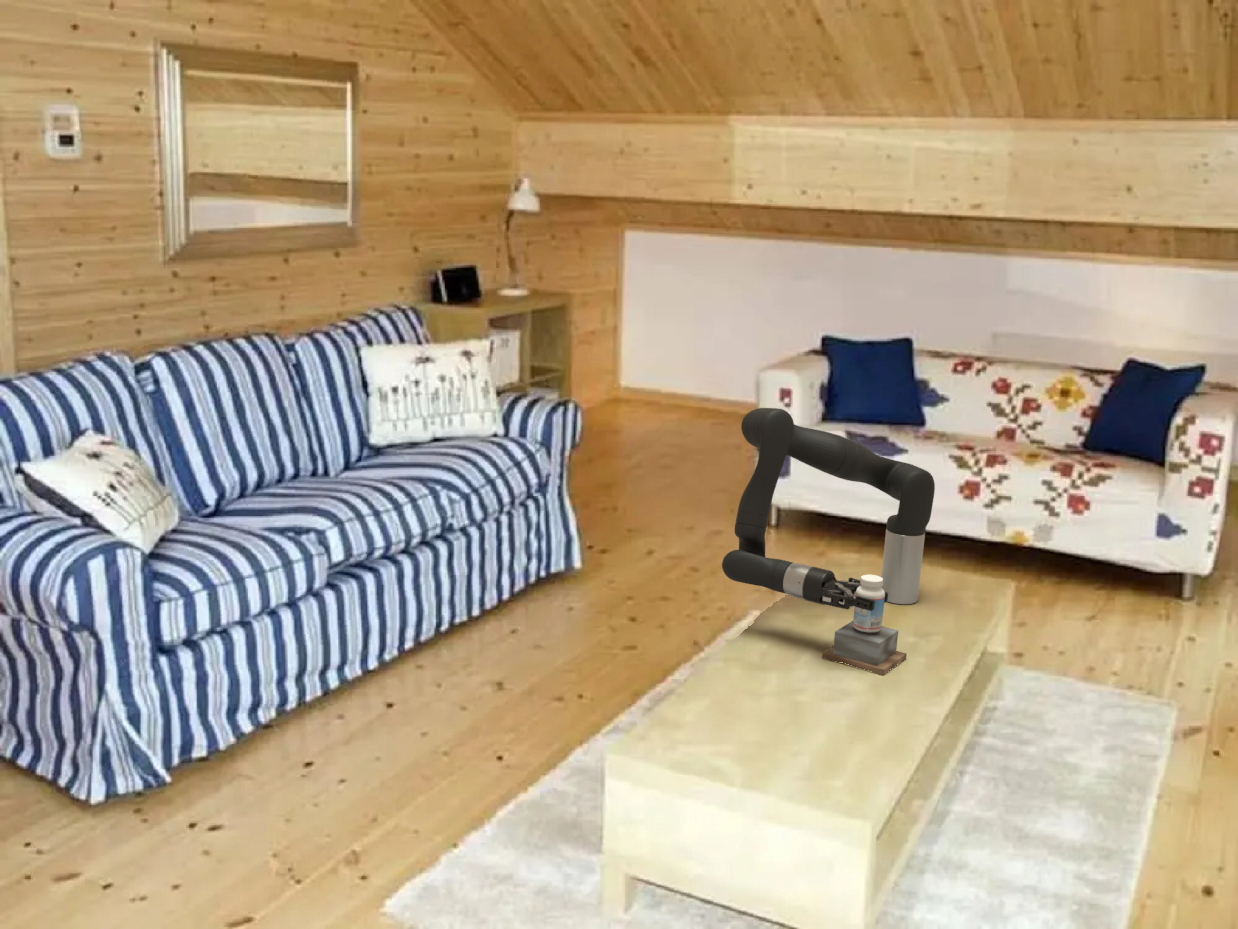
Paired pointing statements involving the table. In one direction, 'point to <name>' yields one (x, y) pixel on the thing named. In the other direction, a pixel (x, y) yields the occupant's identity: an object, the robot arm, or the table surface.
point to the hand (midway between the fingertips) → (880, 601)
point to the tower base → (866, 649)
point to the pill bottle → (873, 591)
